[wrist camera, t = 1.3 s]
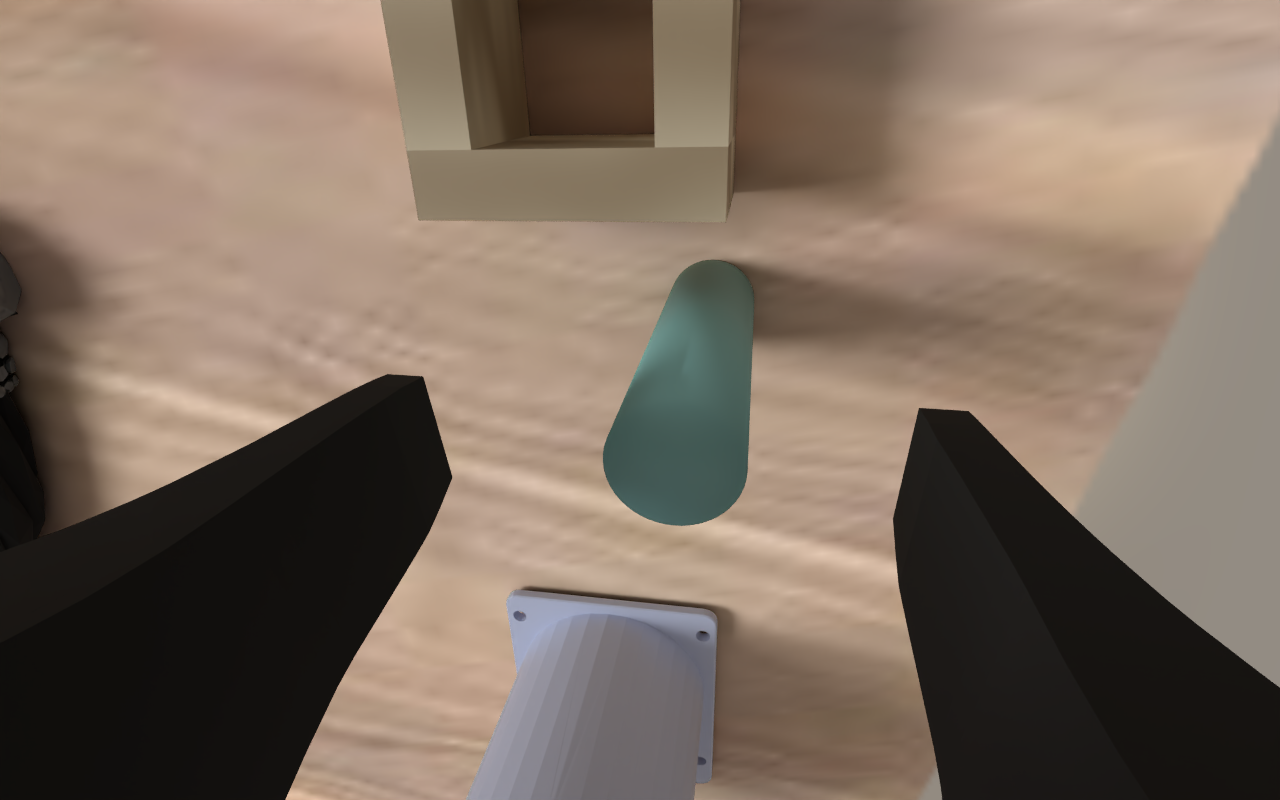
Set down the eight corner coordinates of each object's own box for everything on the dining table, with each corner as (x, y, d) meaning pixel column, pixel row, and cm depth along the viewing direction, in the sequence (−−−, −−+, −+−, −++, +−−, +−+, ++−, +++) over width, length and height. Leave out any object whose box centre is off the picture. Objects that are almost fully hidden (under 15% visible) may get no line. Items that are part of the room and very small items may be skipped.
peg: (752, 341, 19) (744, 531, 11) (671, 338, 19) (606, 519, 11) (756, 260, 18) (751, 405, 10) (670, 259, 18) (598, 397, 10)
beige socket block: (733, 193, 17) (725, 222, 14) (485, 193, 18) (418, 220, 15) (745, -140, 14) (740, -213, 11) (445, -114, 15) (350, -173, 12)
